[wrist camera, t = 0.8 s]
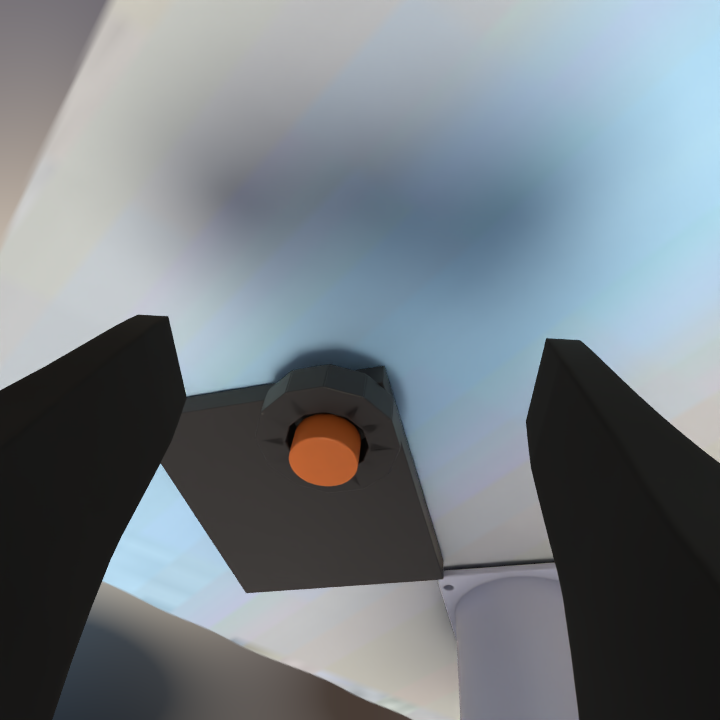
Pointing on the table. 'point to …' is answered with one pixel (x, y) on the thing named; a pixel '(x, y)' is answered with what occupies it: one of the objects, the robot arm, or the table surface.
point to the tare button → (325, 450)
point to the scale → (304, 485)
